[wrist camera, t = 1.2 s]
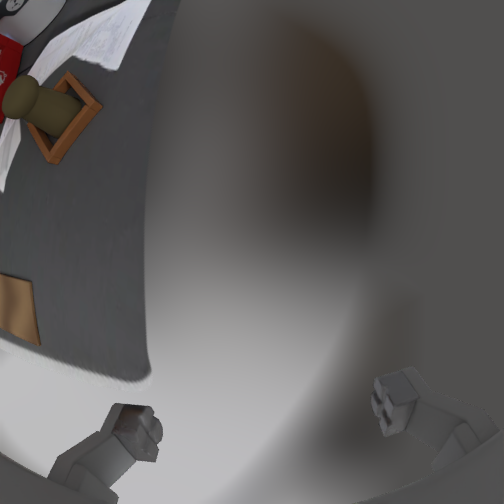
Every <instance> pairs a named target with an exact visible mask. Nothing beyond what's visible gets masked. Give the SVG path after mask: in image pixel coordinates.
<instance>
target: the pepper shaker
mask: <svg viewBox="0 0 504 504" xmlns="http://www.w3.org/2000/svg"><path fill="white" fill-rule="evenodd" d="M2 111H3V113H4V115H5V116H6V117H7V118H10V119H20V118H23V119H25V120H26V121H28V122H30V123H31V124H33V125H35V126H36V127H38V128H40V129H41V130H43V131H45V132H46V133H48V134H50V135H51V136H53V137H54V138H58V139H59V138H60V136H61V135H62V134H63V132H64V131H65V130H66V128H67V127H68V126H69V124H70V123H71V122H72V120H73V119H74V118H75V117H76V115H77V114H78V113H79V112H80V111H81V102H80V100H79V99H77V98H76V97H73V96H70V95H67V94H64V93H61V92H58V91H55V90H52V89H49V88H45V87H42V86H39V84H38V81H37V80H36V79H35V78H34V77H32V76H30V75H23V76H20V77H18V78H17V79H15V80H14V81H13V82H12V83H11V85H10V86H9V87H8V89H7V91H6V93H5V95H4V98H3V101H2Z"/></svg>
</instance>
